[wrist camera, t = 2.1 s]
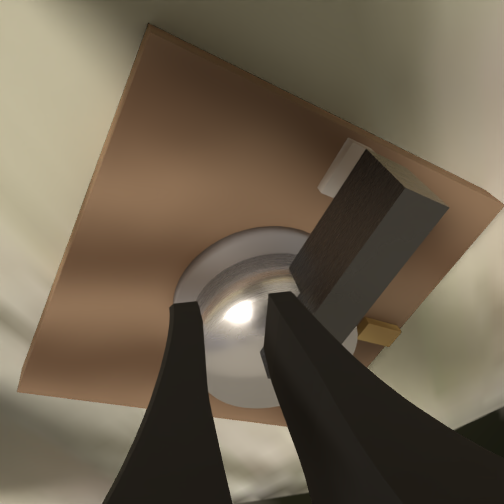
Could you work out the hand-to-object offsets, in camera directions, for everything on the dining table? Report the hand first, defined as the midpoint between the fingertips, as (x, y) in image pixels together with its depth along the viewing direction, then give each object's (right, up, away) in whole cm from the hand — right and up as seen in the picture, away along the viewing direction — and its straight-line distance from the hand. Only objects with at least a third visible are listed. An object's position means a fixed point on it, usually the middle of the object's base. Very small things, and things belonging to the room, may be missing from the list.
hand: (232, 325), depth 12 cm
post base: (+1, 0, +12) cm, 12 cm away
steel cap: (+2, +1, +8) cm, 9 cm away
